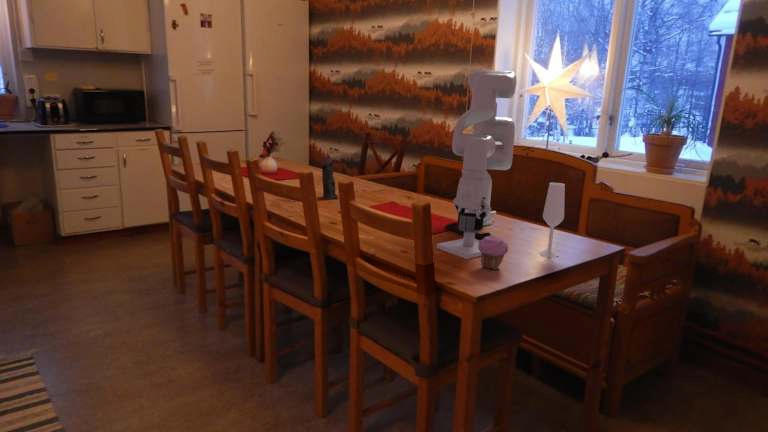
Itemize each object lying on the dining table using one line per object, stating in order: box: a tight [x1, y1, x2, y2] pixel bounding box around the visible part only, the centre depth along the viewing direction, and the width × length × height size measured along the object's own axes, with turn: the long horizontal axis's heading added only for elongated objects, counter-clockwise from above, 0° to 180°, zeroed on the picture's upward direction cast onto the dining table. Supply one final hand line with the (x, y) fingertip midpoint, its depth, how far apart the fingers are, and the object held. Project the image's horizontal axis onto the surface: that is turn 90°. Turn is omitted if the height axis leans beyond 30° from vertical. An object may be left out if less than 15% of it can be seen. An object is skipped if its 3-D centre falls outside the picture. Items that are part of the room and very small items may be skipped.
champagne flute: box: [538, 182, 566, 258], centre depth 177 cm, size 7×7×24 cm
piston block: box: [436, 232, 482, 260], centre depth 180 cm, size 16×14×10 cm
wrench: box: [444, 221, 492, 241], centre depth 196 cm, size 5×5×30 cm
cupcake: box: [478, 235, 509, 271], centre depth 163 cm, size 9×9×10 cm
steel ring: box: [458, 211, 482, 233], centre depth 179 cm, size 7×7×5 cm
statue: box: [321, 155, 339, 200], centre depth 250 cm, size 7×7×20 cm
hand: (469, 226), depth 179 cm, fingers closed on steel ring, 7 cm apart
